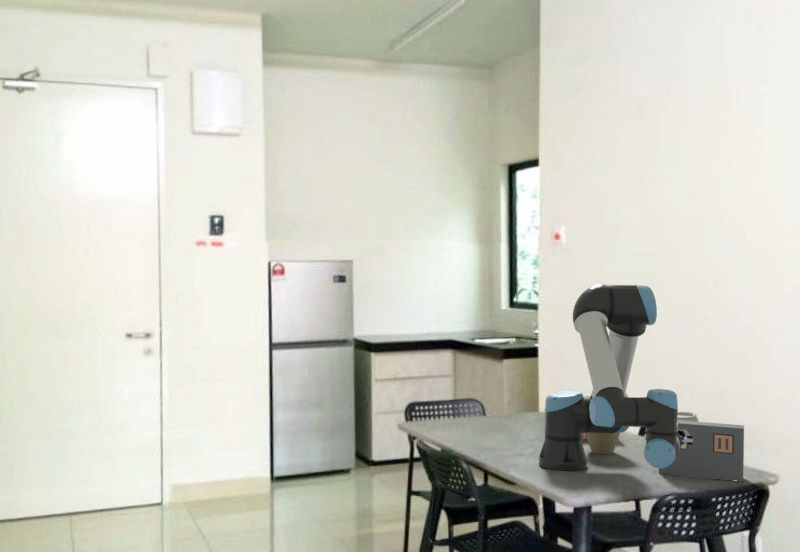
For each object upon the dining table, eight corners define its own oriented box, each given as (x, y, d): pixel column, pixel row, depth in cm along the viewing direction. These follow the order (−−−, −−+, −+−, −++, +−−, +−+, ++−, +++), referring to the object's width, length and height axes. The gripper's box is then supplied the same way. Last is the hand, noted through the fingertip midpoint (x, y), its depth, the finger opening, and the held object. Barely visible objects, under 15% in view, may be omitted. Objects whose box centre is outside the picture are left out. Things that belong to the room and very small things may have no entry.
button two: (732, 453, 246) (732, 436, 246) (714, 451, 248) (714, 434, 248) (732, 451, 249) (732, 434, 249) (714, 449, 251) (715, 433, 251)
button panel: (742, 482, 246) (743, 428, 246) (658, 473, 256) (659, 421, 256) (743, 478, 251) (744, 425, 251) (661, 469, 261) (661, 418, 261)
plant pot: (587, 445, 296) (588, 401, 296) (628, 450, 289) (629, 405, 289) (574, 453, 283) (574, 406, 283) (617, 458, 276) (618, 410, 276)
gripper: (640, 454, 226) (652, 437, 247) (690, 459, 220) (698, 442, 242) (641, 427, 225) (652, 412, 247) (691, 431, 220) (699, 417, 242)
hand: (675, 427), depth 244 cm, fingers closed
